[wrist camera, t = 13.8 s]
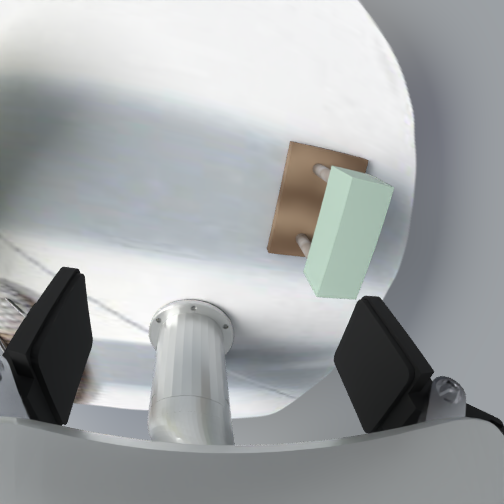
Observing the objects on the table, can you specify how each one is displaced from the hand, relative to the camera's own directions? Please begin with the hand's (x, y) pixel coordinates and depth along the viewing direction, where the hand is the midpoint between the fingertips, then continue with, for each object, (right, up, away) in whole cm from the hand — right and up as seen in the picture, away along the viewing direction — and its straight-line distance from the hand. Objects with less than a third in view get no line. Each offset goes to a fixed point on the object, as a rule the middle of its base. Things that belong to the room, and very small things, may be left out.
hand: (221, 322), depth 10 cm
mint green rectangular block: (+10, +5, +23) cm, 25 cm away
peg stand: (+9, +8, +29) cm, 31 cm away
